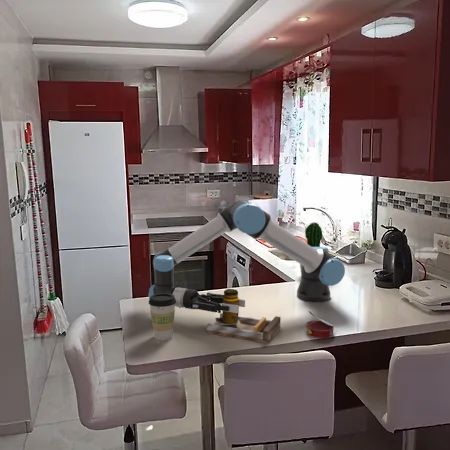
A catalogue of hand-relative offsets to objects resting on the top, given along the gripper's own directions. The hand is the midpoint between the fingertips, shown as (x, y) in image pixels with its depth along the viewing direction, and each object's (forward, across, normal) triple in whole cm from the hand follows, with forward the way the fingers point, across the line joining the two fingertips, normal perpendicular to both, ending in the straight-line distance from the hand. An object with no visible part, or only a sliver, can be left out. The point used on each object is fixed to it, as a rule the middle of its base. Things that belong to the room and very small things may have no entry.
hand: (241, 306), depth 166 cm
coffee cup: (-24, +17, -9) cm, 31 cm away
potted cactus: (+9, -81, -9) cm, 82 cm away
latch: (+7, 0, -8) cm, 11 cm away
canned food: (+28, -9, -10) cm, 30 cm away
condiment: (-5, 0, -7) cm, 9 cm away
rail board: (+1, 0, -9) cm, 9 cm away
